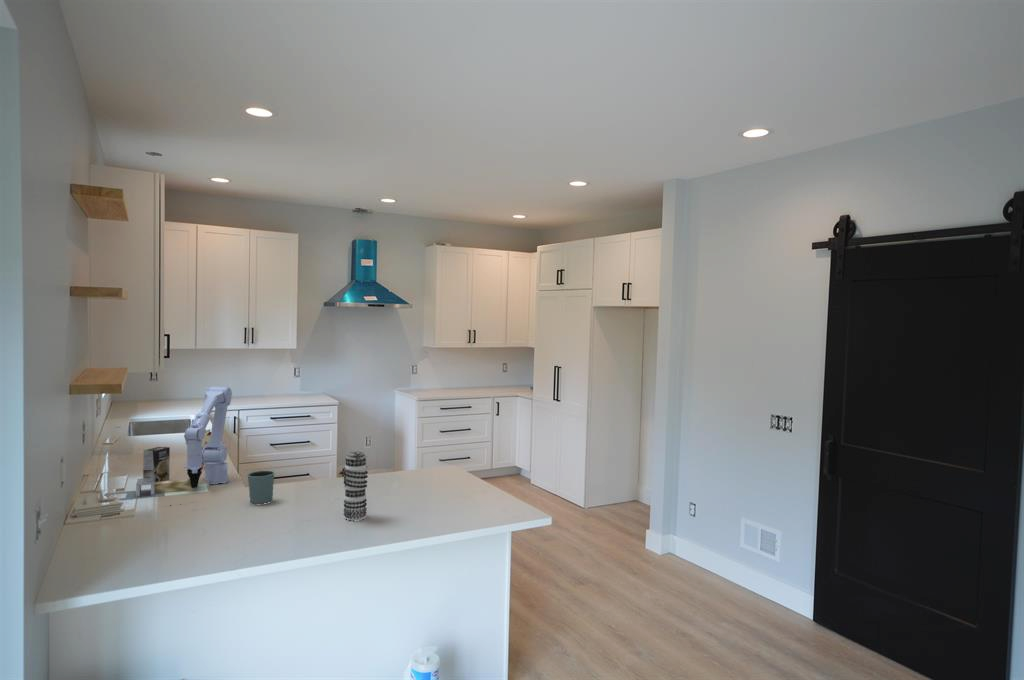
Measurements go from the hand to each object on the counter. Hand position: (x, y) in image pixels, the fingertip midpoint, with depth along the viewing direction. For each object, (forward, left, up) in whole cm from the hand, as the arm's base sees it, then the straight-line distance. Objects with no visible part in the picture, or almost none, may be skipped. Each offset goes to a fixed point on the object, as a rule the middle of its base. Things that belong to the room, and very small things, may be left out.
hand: (194, 486), depth 264 cm
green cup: (-24, +27, -3) cm, 36 cm away
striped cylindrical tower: (-54, +63, -3) cm, 83 cm away
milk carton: (-6, -46, -3) cm, 46 cm away
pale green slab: (+14, 0, -3) cm, 14 cm away
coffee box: (+15, -22, -3) cm, 27 cm away
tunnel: (+18, 0, -1) cm, 18 cm away
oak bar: (+7, 0, -1) cm, 7 cm away
